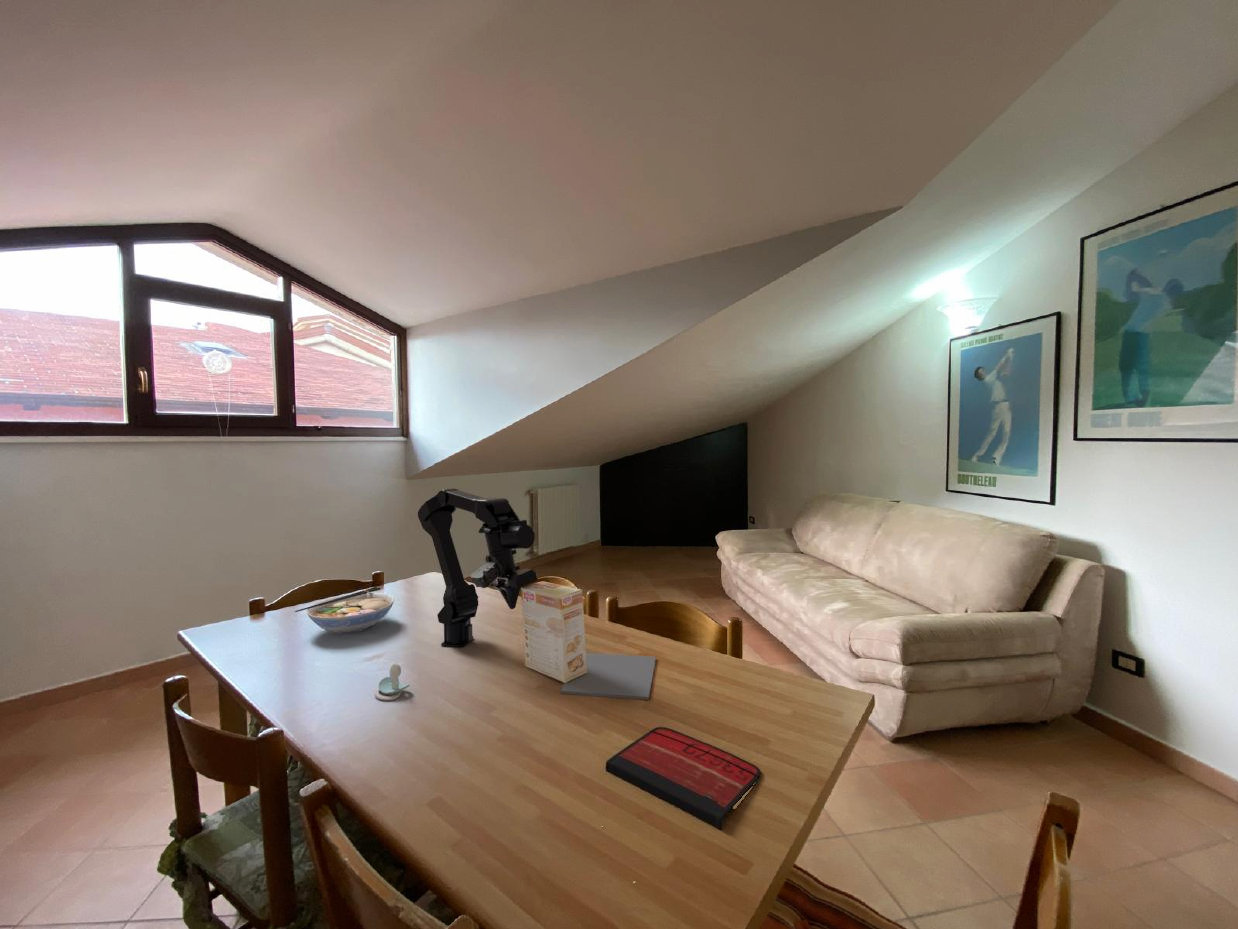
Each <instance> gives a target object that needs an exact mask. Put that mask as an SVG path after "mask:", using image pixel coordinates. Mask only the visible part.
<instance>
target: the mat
mask: <svg viewBox="0 0 1238 929" xmlns="http://www.w3.org/2000/svg"><path fill="white" fill-rule="evenodd" d="M656 660H657V656H648V655H647V656H646V655H631V654H616V653H615V654H614V653H598V652H597V653H596V652H586V665H587V673H585V674H583V675H581V676H579V677H577V678H575V679H572V680H570V681H569V682H567V683H564V682H563V685H562V687H561V689H560V694H565V695H577V696H579V695H581V696H590V697H591V696H593V697H603V698H604V697H606V698H620V699H632V700H633V699H634V700H644V699H646V700H647V701H649V699H650V694H651V688H652V684H651V683H652V682H653V678H654V673H653V672H654V671H655V666H656V662H655V661H656ZM646 700H645V701H646Z"/></svg>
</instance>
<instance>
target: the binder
mask: <svg viewBox="0 0 1238 929" xmlns="http://www.w3.org/2000/svg"><path fill="white" fill-rule="evenodd" d="M605 772H607V773H609V774H611V775H613V776H615V777H617V778H618V779H621V780H623V781H624V782H627V783H629V784H631V785H632V786H634V787H637V788H639V789H640V790H642V791H645V792H646V793H647V794H649V795H652V796H653V797H656V798H657V797H658V799H659V800H661V799H662V801H664V802H665V803H667V802H668V803H667V804H670V805H671V804H672V805H671V806H673V805H674V808H675V807H676V808H678V809H679V808H680V810H681V811H682V812H685V813H687V814H688V815H690V814H691V815H690V816H692V817H695V818H696V819H698V820H700V821H702V822H704V823H707V824H708V825H710V826H712V827H714V828H716V829H717V830H719V831H722V830H723V826H722V825H723V817H725V816H726V815H727V814H728V813H729V812H730V811H731V810H733V806H734V805H735V804H736V803H737V802H738V801H739V800H740V799H741V798H742V796H743V795H744V794H745V793H746V792H747V791H748V790H749V789H750V788H751V787H752V786H753V784H754V783H755V782H756V781H757V780H758V779H759V780H760V778H761V773H762V771H761V769H760V767H758V766H757V765H755V764H753V763H751V762H749V761H747V760H745V759H743V758H741V757H739V756H738V755H734V754H732V753H731V752H728V751H726V750H723V749H721V748H719V747H717V746H714V745H712V744H710V743H707V742H704V741H702V740H700V739H697V738H695V737H692V736H690V735H687V734H684V733H682V732H681V731H677V730H674V729H672V728H669V727H666V726H665V727H664V726H657V727H655V728H652V729H651V730H649V731H648V732H646V733H645V734H643V735H642V736H640V737H639V738H637V739H636V740H634V741H633V742H631V743H630V744H629V745H627V746H626V747H624V748H623V749H621V750H620V751H618V752H617V753H615V754H614V755H613V756H611V757H610V758H609V759H607V760H606V761H605ZM759 777H760V778H759ZM759 780H758V781H759ZM758 781H757V782H758Z"/></svg>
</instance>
